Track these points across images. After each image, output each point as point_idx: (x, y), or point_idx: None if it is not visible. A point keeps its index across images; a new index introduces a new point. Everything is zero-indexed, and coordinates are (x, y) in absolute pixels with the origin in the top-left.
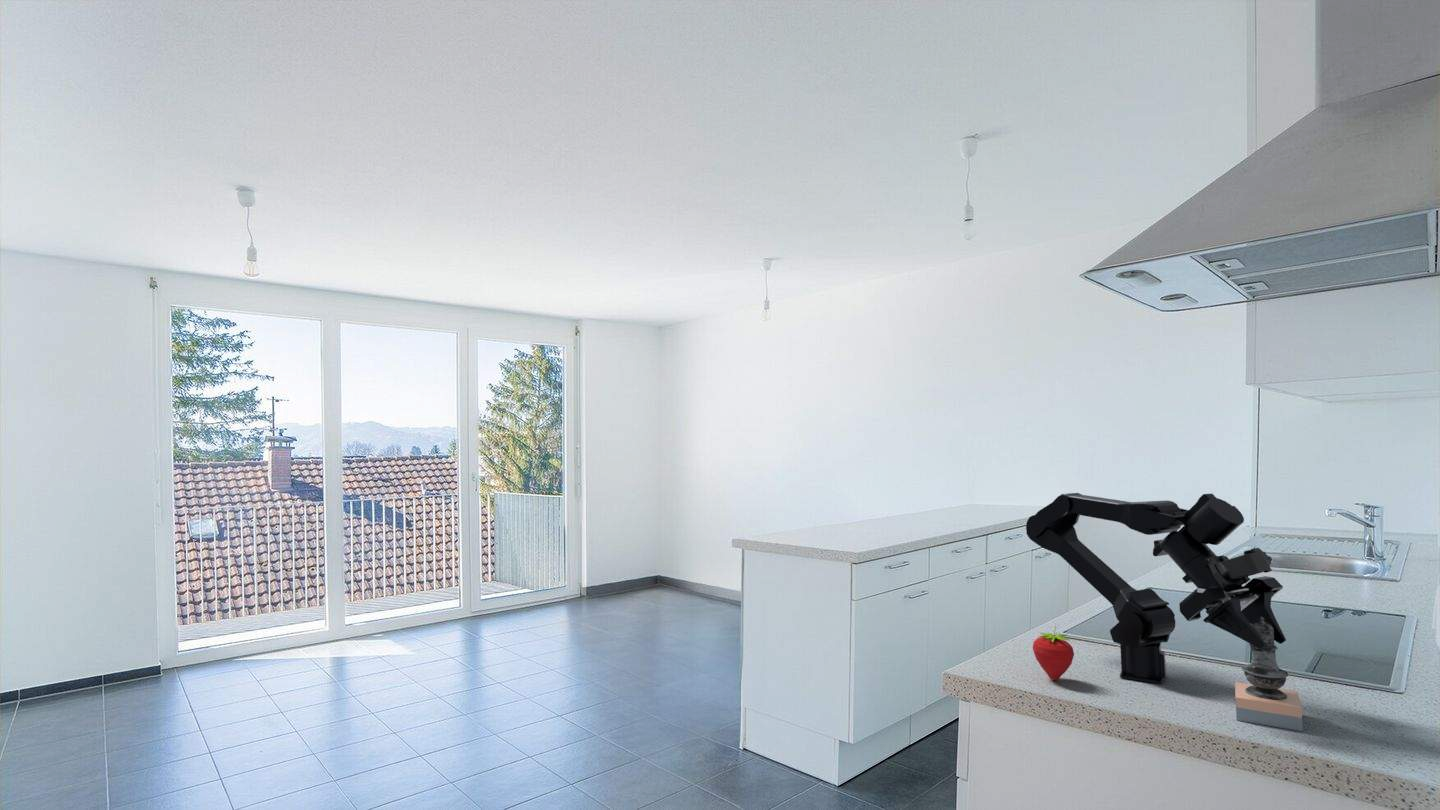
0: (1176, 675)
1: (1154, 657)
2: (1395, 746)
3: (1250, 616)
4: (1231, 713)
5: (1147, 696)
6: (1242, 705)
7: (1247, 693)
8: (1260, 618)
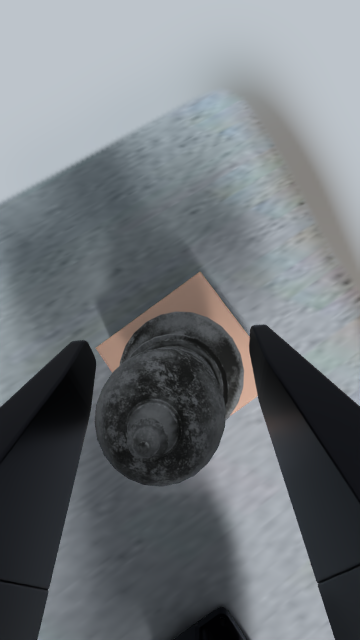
0: (124, 633)
1: None
2: (118, 183)
3: (16, 619)
4: None
5: None
6: None
7: None
8: (160, 445)
